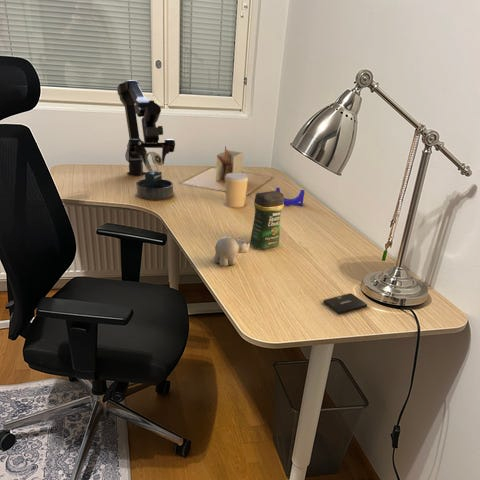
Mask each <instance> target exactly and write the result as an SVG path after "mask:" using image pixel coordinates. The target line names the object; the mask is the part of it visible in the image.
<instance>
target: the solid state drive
mask: <svg viewBox="0 0 480 480" xmlns="http://www.w3.org/2000/svg"><path fill="white" fill-rule="evenodd" d="M323 303H324V304H325V305H326V306H327V307H329V308H330V309H332V310H333V311H334V312H336V314H339V315H341V314H344V313H349V312H352V311H356V310H360V309H363V308H367V307H368V303H366V302H365V301H364V300H363V299H360V298H359V297H357V296H356V295H355V294H353V293H345V294H341V295H338V296H334V297H329V298H326V299H323Z"/></svg>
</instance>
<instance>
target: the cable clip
mask: <svg viewBox="0 0 480 480" xmlns="http://www.w3.org/2000/svg"><path fill="white" fill-rule="evenodd" d="M275 190H276V191H278V192H281V188H280V187H275ZM304 198H305V189H300V192H299V194H298V195H297V196H296V197H294V198H287V197H284V206H287V207H289V206H298V207H303V206H304Z"/></svg>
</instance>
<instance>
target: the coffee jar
mask: <svg viewBox="0 0 480 480" xmlns="http://www.w3.org/2000/svg"><path fill="white" fill-rule="evenodd" d="M284 198H285V195H284V194H283V192H281V191H280V192H278V191H276V189H275V190H270V191H264V192H256V194H255V196H254V202H253V205H254V218H253V223H252V229H251V234H250V241H249V244H250V245H251V246H252V247H253V248H255V249H259V250H269V249H274V248H277V247H278V246H279V245H280V229H281V228H280V227H281V215H282V210H283V208H284V206H285V205H284Z"/></svg>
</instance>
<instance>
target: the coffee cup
mask: <svg viewBox="0 0 480 480" xmlns="http://www.w3.org/2000/svg"><path fill="white" fill-rule="evenodd" d="M225 178H226V191H225V205H226V206H227V207H230V208H243V207H245V203H246V197H247V195H246V190H247V182H248V176H247V175H245V174H242V173H228V174H227V175H226V176H225Z"/></svg>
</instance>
